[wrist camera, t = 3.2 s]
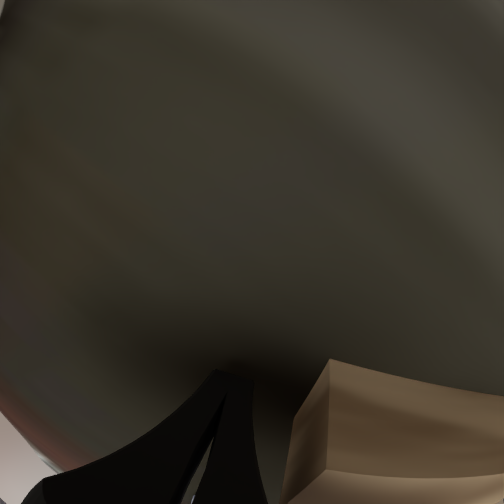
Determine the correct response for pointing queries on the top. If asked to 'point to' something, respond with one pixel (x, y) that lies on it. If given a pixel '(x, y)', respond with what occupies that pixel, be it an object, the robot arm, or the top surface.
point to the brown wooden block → (394, 442)
